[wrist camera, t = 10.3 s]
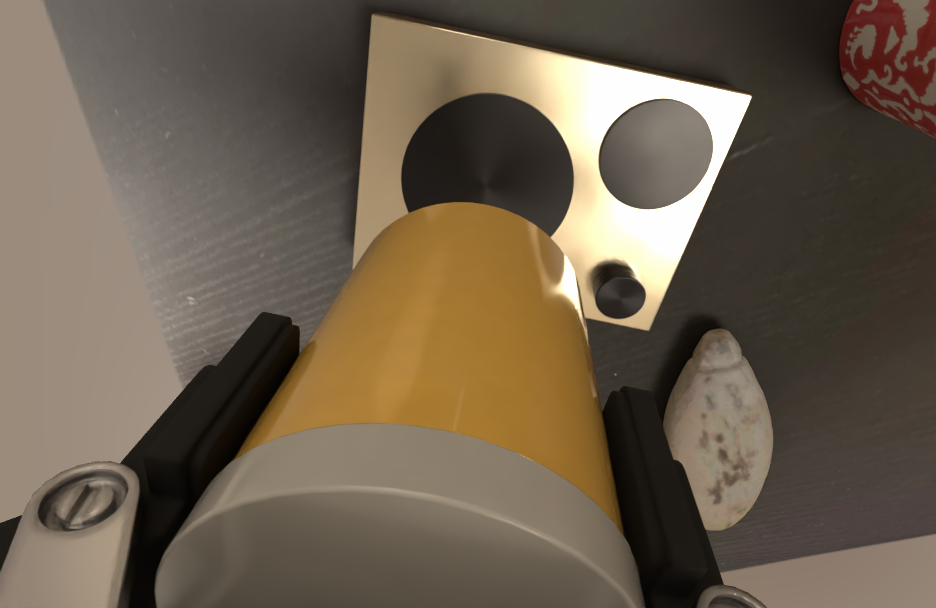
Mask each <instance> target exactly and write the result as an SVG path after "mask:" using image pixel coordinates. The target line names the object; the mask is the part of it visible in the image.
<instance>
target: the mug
mask: <svg viewBox="0 0 936 608" xmlns="http://www.w3.org/2000/svg"><path fill="white" fill-rule="evenodd" d="M839 61H840V69H841V72H842V76H843V79H844V81H845V83H846V85H847V87H848V88H849V90H850V91H851V93H852V94H853V95H854V96H855V97H856V98H857V99H858V100H859V101H860V102H862V103H863V104H864V105H866V106H868V107H870V108H871V109H873V110H875V111H877V112H879V113H881V114H884V115H886V116H889V117H891V118H894V119H896V120H898V121H900V122H903V123H905V124H907V125H908V126H910V127H913V128H915V129H917V130H919V131H922V132H924V133H926V134H928V135H930V136H932V137H934V138H936V0H853V2H852V4H851V6H850V8H849V10H848V13H847V16H846V19H845V22H844V24H843V28H842V33H841V37H840V44H839Z"/></svg>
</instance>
